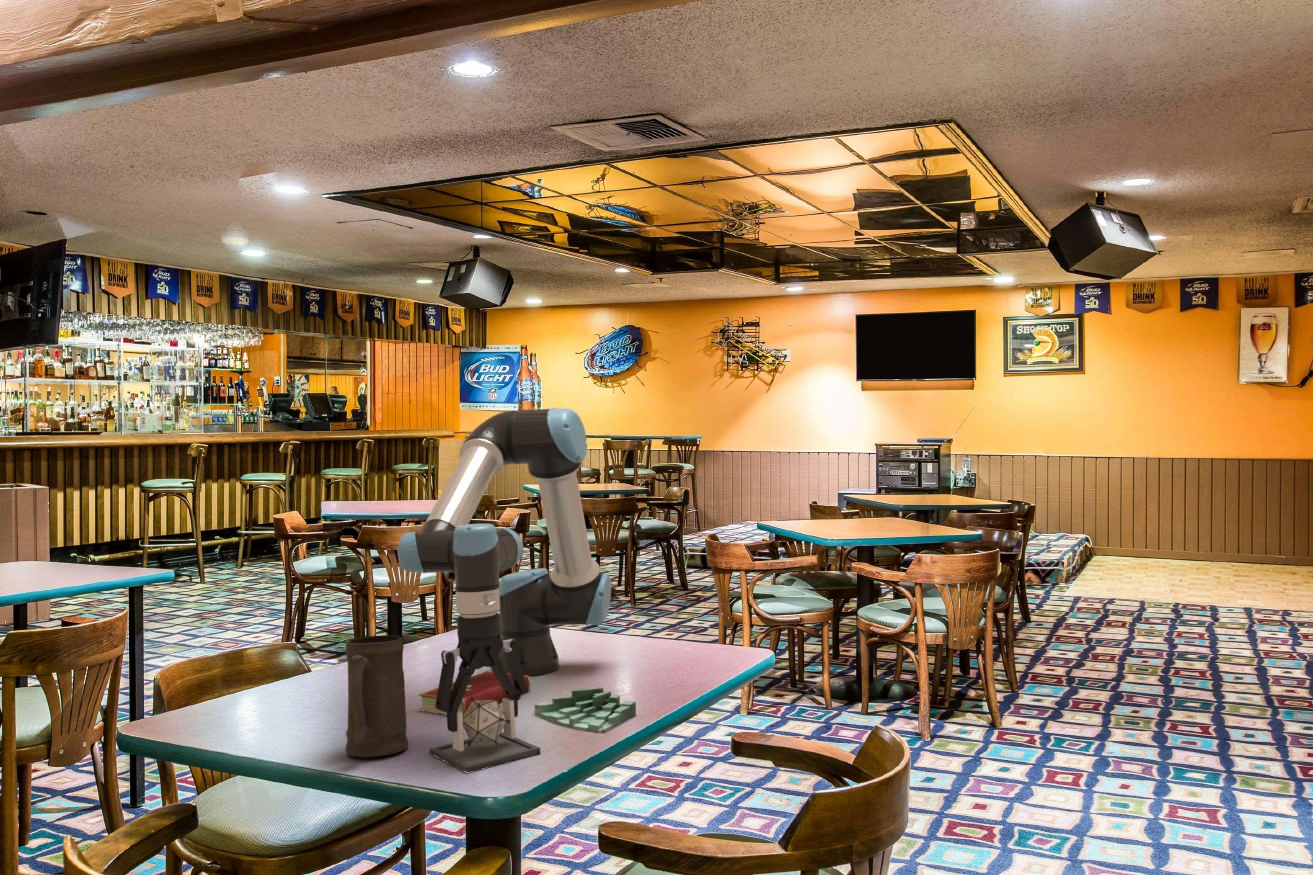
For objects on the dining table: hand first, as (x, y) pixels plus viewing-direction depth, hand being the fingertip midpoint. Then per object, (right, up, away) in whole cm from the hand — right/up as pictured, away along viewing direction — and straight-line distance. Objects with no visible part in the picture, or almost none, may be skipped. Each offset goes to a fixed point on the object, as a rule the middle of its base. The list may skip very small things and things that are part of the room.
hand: (484, 742), depth 173 cm
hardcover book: (-8, -3, +36) cm, 36 cm away
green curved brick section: (+15, -2, +21) cm, 26 cm away
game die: (0, 0, 0) cm, 0 cm away
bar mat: (0, -2, 0) cm, 2 cm away
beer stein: (-20, -3, +2) cm, 20 cm away
